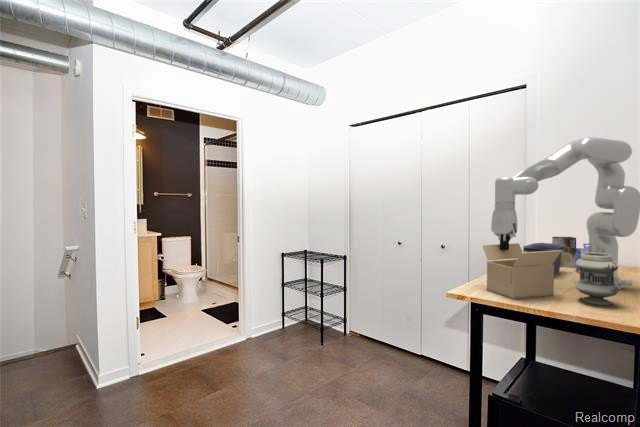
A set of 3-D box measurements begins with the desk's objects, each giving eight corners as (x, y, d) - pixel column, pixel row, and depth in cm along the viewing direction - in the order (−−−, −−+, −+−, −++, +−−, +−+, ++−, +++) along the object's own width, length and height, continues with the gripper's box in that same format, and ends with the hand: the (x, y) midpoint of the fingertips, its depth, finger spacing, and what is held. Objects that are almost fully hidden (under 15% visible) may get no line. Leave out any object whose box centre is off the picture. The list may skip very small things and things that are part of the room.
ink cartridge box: (596, 271, 171) (597, 243, 171) (603, 274, 166) (603, 244, 165) (574, 271, 173) (574, 243, 173) (580, 273, 168) (580, 244, 167)
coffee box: (569, 265, 188) (570, 236, 187) (576, 267, 182) (577, 237, 181) (551, 264, 190) (552, 236, 189) (557, 267, 183) (558, 237, 183)
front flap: (560, 250, 129) (561, 250, 129) (552, 262, 133) (553, 263, 132) (520, 252, 125) (521, 253, 124) (513, 265, 128) (514, 266, 128)
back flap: (524, 257, 145) (524, 257, 146) (518, 243, 148) (518, 243, 148) (488, 260, 141) (487, 260, 141) (482, 245, 144) (482, 245, 144)
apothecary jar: (573, 296, 131) (573, 250, 130) (613, 300, 124) (614, 252, 124) (577, 305, 120) (578, 255, 119) (622, 310, 114) (623, 257, 113)
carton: (525, 286, 146) (525, 258, 146) (554, 295, 133) (554, 264, 132) (486, 289, 142) (486, 261, 141) (512, 299, 128) (512, 268, 128)
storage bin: (552, 280, 156) (552, 249, 156) (515, 274, 169) (516, 246, 168) (566, 273, 170) (567, 244, 169) (532, 268, 182) (532, 241, 181)
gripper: (484, 206, 150) (484, 247, 150) (511, 207, 135) (510, 253, 136) (498, 206, 151) (498, 247, 152) (526, 207, 137) (526, 252, 138)
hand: (504, 249), depth 144 cm, fingers closed
